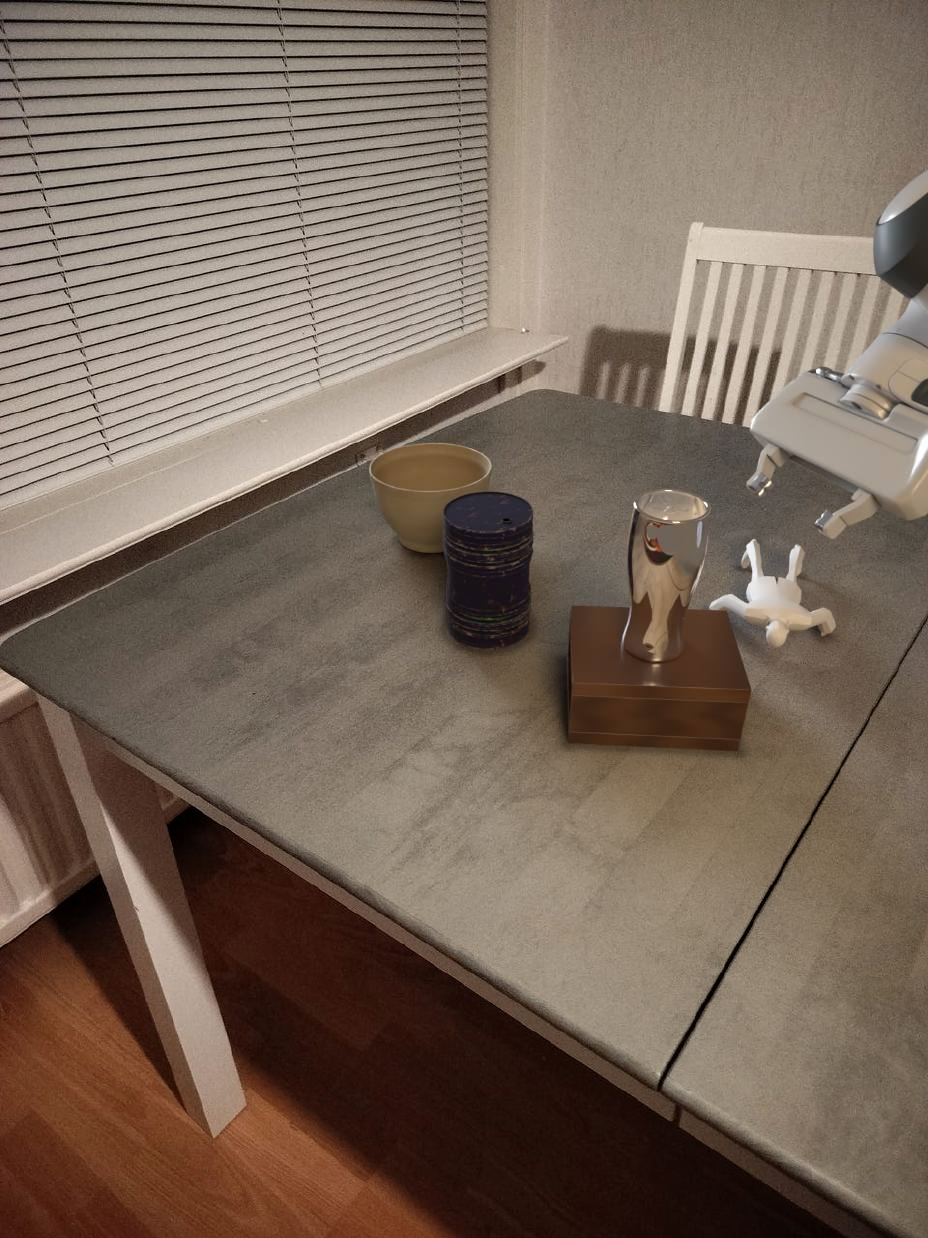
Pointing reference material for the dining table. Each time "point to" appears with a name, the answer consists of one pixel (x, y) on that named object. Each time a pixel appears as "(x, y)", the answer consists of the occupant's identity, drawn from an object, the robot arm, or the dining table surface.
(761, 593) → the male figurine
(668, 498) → the beer glass
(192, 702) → the dining table surface
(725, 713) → the wooden keepsake box
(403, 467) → the planter bowl
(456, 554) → the dark blue oil drum
